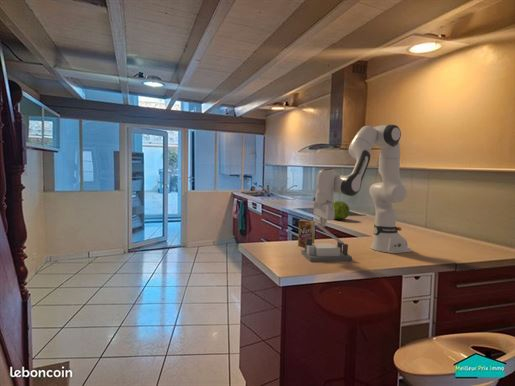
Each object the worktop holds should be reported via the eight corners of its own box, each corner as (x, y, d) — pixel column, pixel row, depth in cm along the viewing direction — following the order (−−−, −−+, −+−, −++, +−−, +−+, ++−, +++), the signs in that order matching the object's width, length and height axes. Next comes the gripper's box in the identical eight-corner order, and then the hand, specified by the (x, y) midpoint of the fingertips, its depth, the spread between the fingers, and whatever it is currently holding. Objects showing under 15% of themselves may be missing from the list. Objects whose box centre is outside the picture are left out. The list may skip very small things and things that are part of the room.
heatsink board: (339, 253, 175) (340, 236, 174) (351, 260, 161) (352, 242, 160) (301, 253, 171) (302, 237, 170) (310, 261, 157) (311, 243, 156)
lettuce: (335, 217, 308) (331, 200, 308) (354, 217, 289) (350, 198, 288) (322, 222, 299) (319, 204, 298) (341, 222, 279) (337, 203, 278)
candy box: (297, 245, 189) (298, 220, 187) (300, 244, 192) (301, 219, 191) (311, 248, 184) (312, 222, 182) (314, 246, 187) (315, 221, 186)
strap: (339, 243, 169) (341, 240, 169) (342, 244, 165) (344, 242, 165) (313, 224, 165) (315, 221, 165) (316, 225, 161) (318, 222, 161)
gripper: (338, 201, 153) (336, 230, 154) (322, 197, 174) (321, 222, 175) (326, 201, 152) (324, 229, 153) (311, 197, 172) (310, 222, 173)
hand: (322, 226), depth 164 cm, fingers closed, pressing on strap
